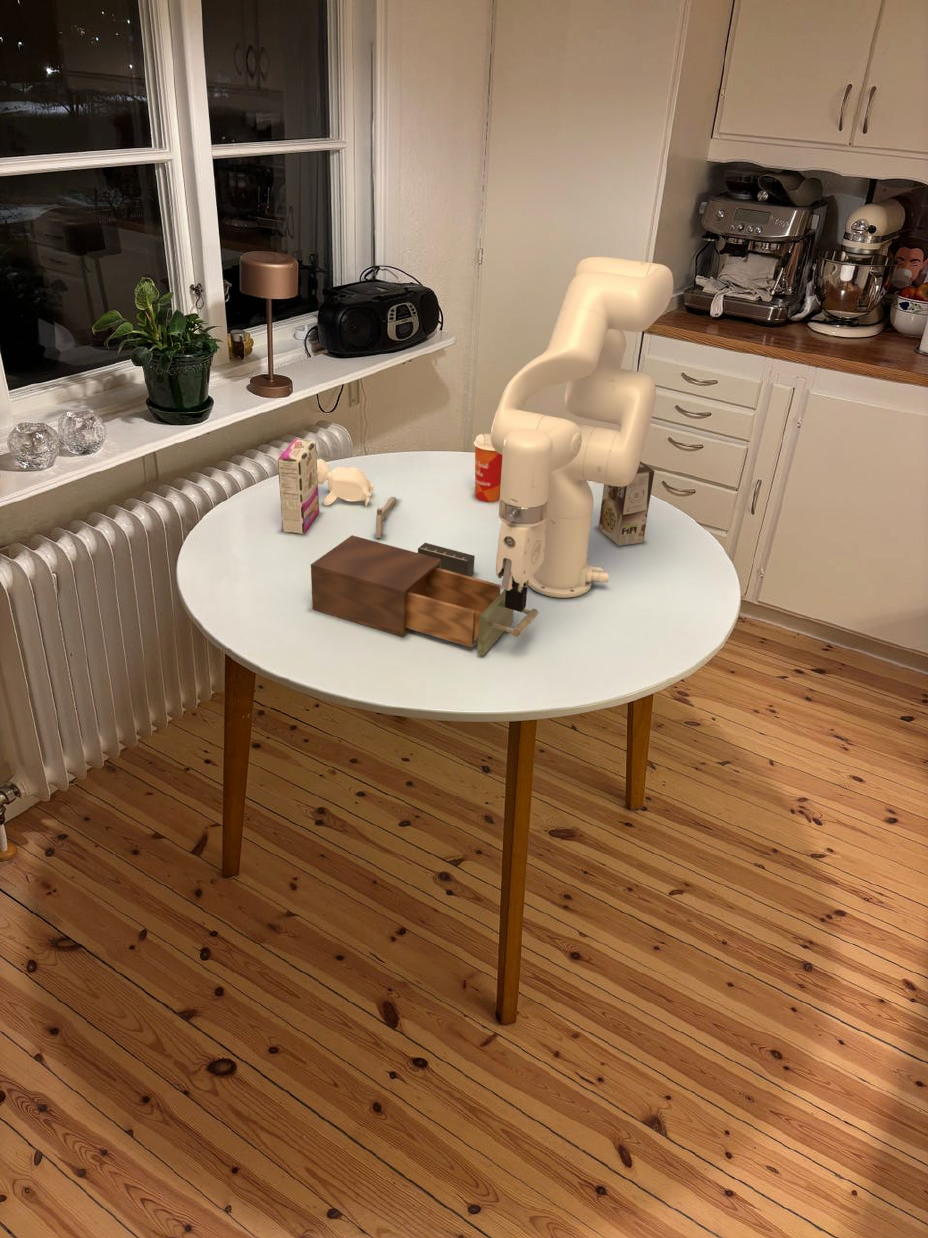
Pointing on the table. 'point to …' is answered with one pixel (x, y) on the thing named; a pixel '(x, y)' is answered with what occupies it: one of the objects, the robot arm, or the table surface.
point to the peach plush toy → (344, 483)
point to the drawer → (461, 610)
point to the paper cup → (487, 469)
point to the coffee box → (627, 508)
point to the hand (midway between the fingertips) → (515, 607)
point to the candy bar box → (298, 486)
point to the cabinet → (368, 583)
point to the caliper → (383, 516)
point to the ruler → (450, 559)
